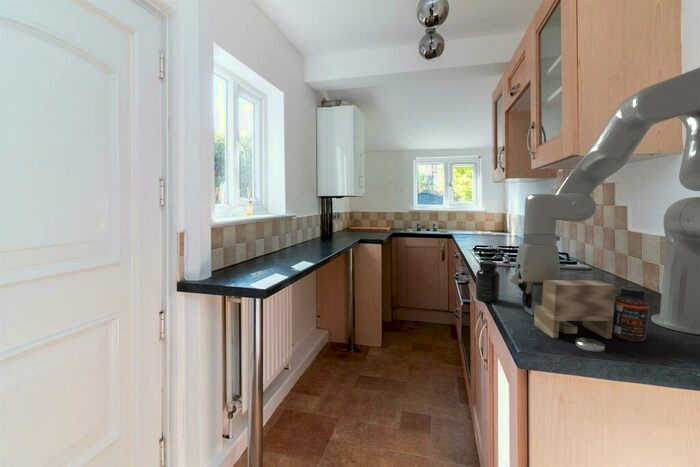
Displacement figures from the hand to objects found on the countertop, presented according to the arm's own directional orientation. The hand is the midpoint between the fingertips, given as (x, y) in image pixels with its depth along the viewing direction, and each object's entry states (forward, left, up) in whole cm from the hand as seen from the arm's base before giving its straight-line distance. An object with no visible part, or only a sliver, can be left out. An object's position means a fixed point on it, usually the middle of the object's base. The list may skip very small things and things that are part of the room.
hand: (535, 306), depth 92 cm
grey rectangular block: (0, +7, -2) cm, 7 cm away
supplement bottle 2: (-12, +16, -2) cm, 20 cm away
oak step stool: (-1, +13, -2) cm, 13 cm away
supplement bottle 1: (+8, -13, -2) cm, 15 cm away
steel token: (0, +21, -2) cm, 22 cm away
